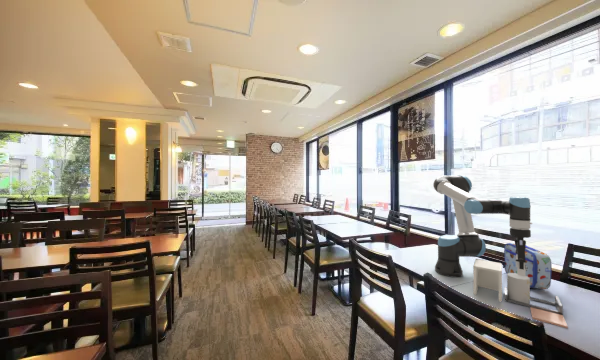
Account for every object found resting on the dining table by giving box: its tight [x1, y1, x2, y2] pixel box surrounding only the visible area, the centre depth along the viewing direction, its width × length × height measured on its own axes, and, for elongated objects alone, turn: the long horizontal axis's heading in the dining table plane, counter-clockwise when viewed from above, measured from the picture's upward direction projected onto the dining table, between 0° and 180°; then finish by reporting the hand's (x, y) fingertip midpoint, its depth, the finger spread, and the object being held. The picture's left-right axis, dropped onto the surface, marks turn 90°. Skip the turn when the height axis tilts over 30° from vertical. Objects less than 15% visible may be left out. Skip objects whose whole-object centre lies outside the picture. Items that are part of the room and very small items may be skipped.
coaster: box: [529, 307, 569, 329], centre depth 101 cm, size 10×10×1 cm
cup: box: [506, 273, 531, 304], centre depth 116 cm, size 8×8×12 cm
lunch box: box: [502, 242, 552, 290], centre depth 137 cm, size 28×10×22 cm, turn 168°
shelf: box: [472, 258, 503, 302], centre depth 123 cm, size 11×14×15 cm
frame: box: [504, 286, 564, 316], centre depth 113 cm, size 19×11×4 cm, turn 49°
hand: (520, 271), depth 115 cm, fingers open, 13 cm apart
